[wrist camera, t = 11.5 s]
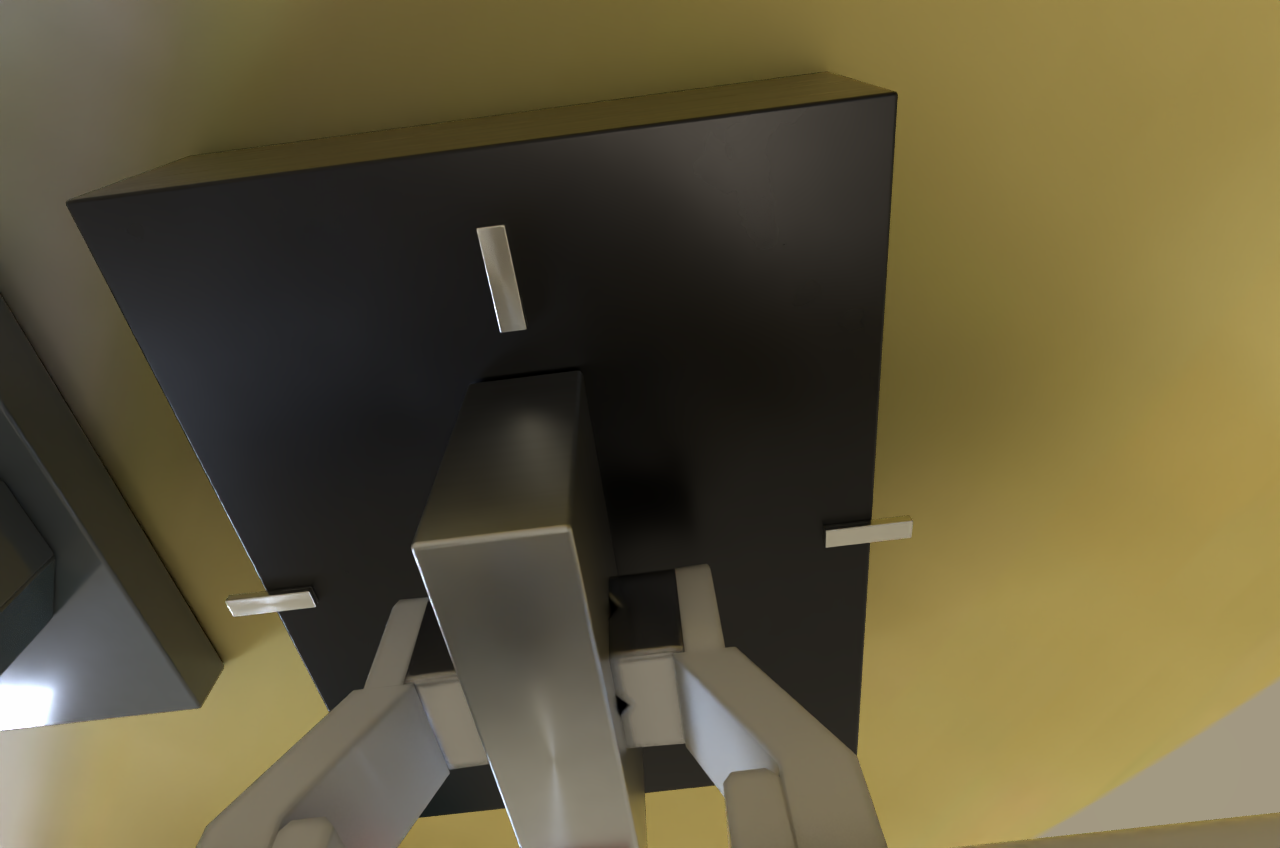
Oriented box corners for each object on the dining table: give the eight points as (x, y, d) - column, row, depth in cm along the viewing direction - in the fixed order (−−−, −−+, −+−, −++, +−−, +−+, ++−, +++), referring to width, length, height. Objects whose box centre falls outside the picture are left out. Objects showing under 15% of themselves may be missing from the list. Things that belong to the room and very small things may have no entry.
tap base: (151, 160, 11) (3, 210, 8) (869, 66, 11) (957, 85, 8) (393, 705, 18) (354, 832, 15) (843, 654, 17) (888, 775, 15)
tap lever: (468, 382, 10) (400, 563, 7) (582, 368, 10) (570, 544, 7) (556, 709, 13) (540, 932, 10) (640, 701, 13) (651, 920, 10)
